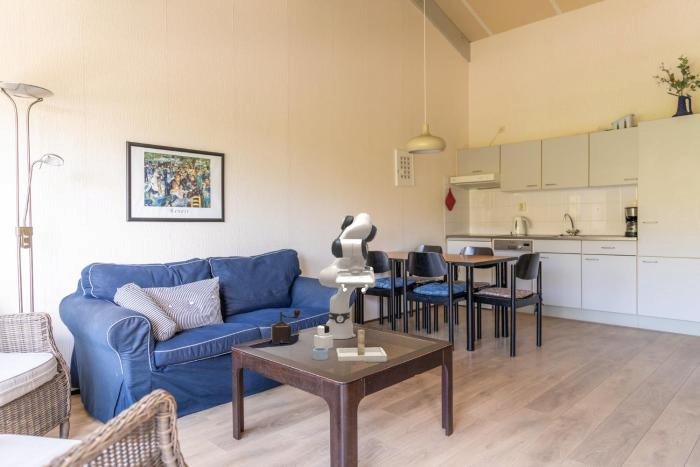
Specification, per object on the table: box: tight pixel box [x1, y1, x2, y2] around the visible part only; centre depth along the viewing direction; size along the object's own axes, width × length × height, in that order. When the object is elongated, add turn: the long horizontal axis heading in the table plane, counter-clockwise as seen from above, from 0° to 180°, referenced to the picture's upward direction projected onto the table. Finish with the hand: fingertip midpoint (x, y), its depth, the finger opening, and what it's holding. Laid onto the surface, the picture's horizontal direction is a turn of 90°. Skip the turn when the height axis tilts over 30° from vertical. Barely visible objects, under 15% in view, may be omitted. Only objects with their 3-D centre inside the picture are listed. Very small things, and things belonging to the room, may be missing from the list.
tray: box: [336, 346, 388, 364], centre depth 215 cm, size 16×22×3 cm
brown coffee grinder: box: [270, 308, 302, 343], centre depth 250 cm, size 16×11×18 cm
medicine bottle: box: [313, 324, 334, 350], centre depth 232 cm, size 7×7×12 cm
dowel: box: [357, 329, 366, 356], centre depth 215 cm, size 3×3×12 cm
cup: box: [312, 347, 329, 361], centre depth 211 cm, size 7×7×5 cm
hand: (354, 292), depth 226 cm, fingers open, 8 cm apart
